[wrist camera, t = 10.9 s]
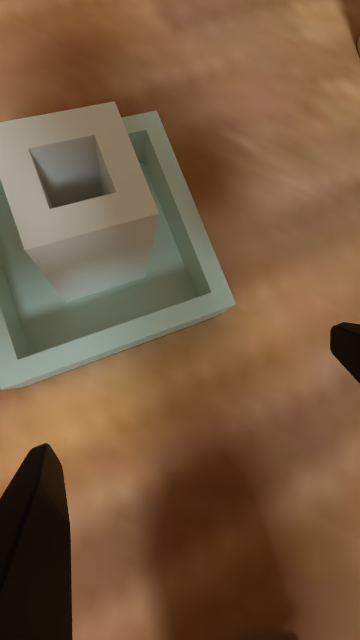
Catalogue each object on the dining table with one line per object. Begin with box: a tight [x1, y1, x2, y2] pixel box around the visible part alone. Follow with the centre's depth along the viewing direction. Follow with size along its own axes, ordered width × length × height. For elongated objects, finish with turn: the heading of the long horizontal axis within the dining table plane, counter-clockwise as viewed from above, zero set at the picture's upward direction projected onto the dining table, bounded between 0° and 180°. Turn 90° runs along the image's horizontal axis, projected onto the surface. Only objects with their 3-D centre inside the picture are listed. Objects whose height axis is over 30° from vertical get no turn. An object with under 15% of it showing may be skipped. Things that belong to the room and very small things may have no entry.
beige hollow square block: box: [0, 101, 159, 303], centre depth 18 cm, size 6×6×9 cm
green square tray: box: [0, 111, 236, 390], centre depth 21 cm, size 14×14×4 cm
